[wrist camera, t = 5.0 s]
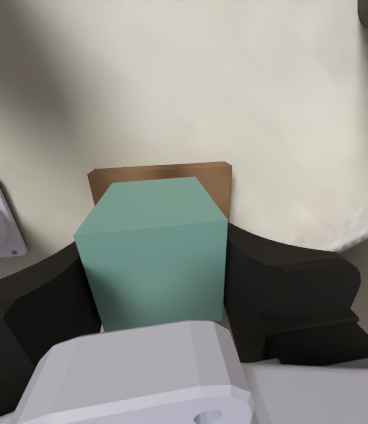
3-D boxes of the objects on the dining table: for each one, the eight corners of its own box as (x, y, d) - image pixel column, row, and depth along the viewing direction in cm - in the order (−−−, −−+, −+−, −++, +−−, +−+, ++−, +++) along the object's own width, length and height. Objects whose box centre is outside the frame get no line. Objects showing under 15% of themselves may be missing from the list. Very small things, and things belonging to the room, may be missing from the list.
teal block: (126, 252, 14) (106, 337, 8) (112, 182, 12) (73, 235, 6) (196, 244, 14) (222, 319, 9) (195, 176, 12) (227, 219, 7)
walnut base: (117, 273, 22) (114, 286, 21) (94, 169, 17) (87, 174, 16) (219, 261, 24) (224, 273, 22) (224, 161, 19) (232, 165, 17)
